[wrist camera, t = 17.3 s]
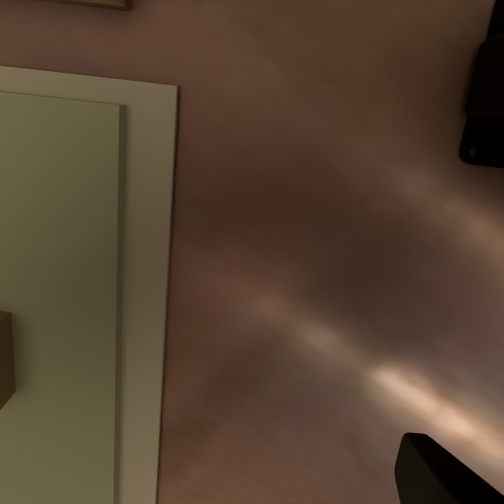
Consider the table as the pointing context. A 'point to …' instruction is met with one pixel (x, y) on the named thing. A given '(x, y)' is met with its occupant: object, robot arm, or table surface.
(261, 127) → the table surface
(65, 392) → the lid
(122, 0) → the toolbox
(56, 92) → the mat
